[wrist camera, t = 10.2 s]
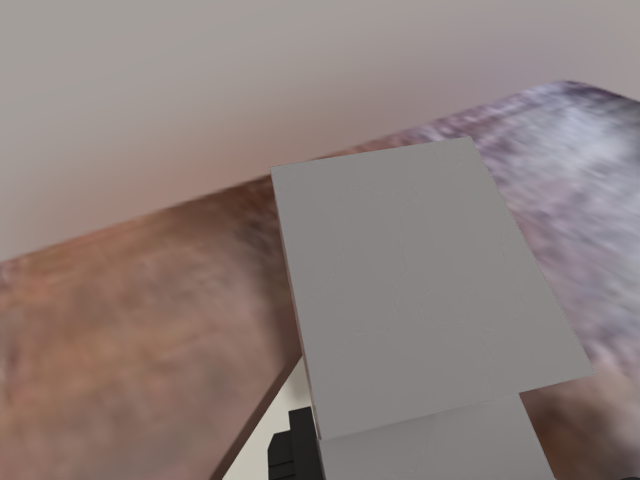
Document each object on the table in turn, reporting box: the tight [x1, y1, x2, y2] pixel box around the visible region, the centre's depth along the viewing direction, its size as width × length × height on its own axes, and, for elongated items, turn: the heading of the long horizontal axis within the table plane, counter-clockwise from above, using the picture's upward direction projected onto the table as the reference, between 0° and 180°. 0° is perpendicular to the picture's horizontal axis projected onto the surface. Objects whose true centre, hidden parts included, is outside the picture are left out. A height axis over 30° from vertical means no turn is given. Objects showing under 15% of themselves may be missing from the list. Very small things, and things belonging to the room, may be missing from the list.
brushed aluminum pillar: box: [270, 136, 596, 480], centre depth 11 cm, size 8×4×15 cm, turn 12°
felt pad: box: [222, 356, 317, 480], centre depth 21 cm, size 11×11×1 cm
